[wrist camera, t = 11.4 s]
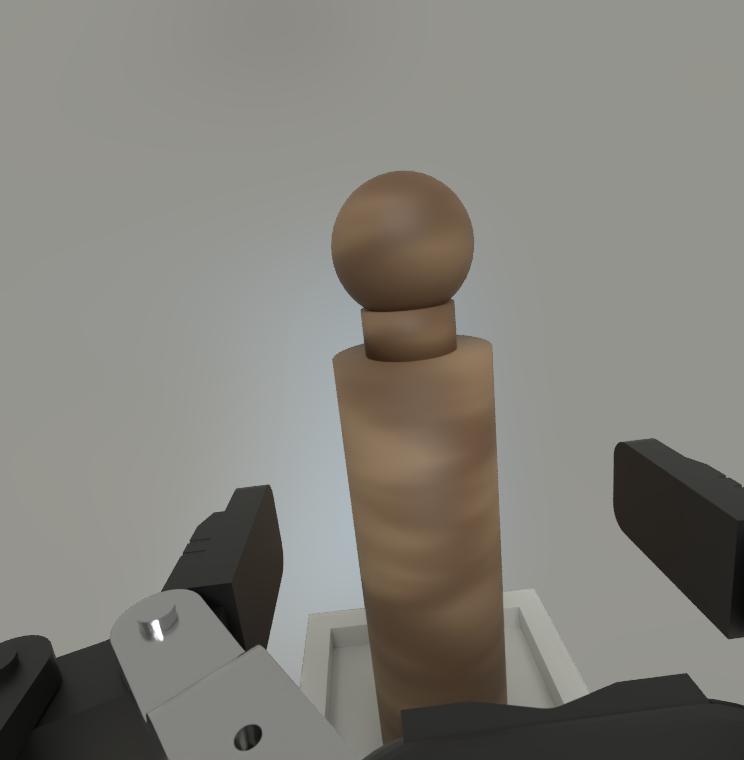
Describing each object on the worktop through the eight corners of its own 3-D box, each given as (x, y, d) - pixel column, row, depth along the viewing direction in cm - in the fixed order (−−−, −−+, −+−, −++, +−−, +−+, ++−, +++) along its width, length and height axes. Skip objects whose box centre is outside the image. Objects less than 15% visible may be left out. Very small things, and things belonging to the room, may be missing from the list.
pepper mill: (385, 802, 18) (300, 168, 12) (378, 680, 23) (315, 190, 17) (527, 785, 18) (507, 145, 12) (489, 667, 23) (462, 174, 17)
